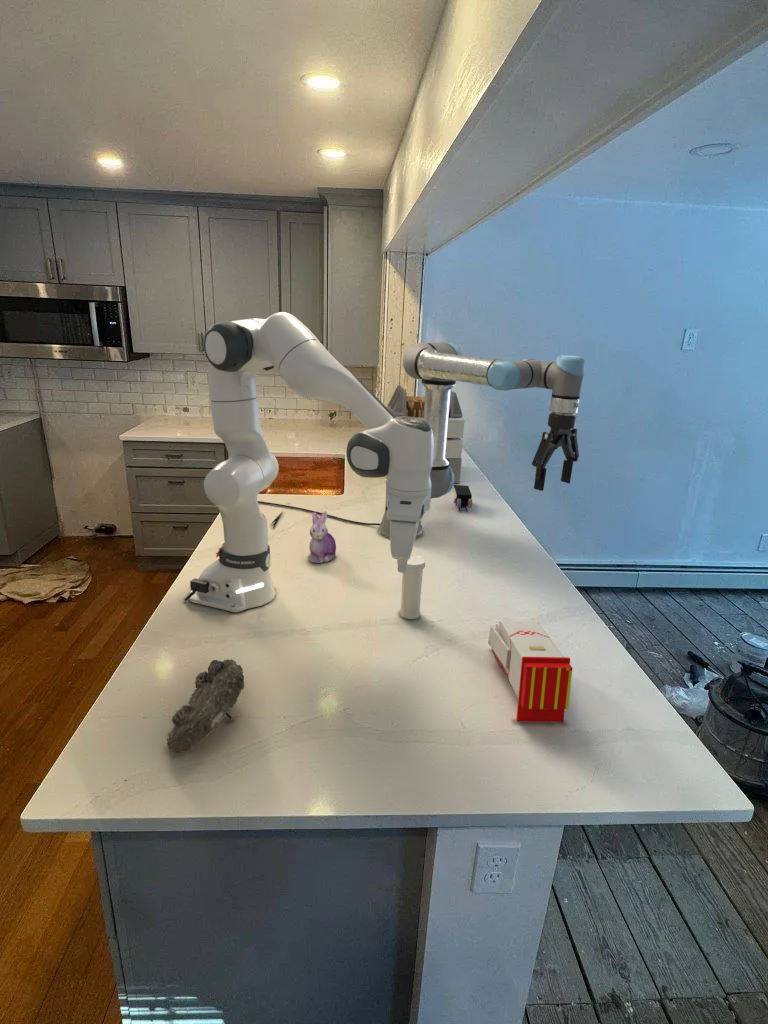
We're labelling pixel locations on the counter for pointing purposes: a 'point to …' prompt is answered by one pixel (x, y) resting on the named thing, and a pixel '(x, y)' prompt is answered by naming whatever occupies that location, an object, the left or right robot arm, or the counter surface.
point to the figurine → (321, 540)
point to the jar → (411, 594)
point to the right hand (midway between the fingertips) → (552, 485)
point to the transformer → (415, 408)
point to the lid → (415, 563)
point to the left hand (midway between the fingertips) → (405, 561)
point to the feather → (276, 520)
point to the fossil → (206, 705)
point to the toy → (533, 669)
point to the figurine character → (462, 497)
